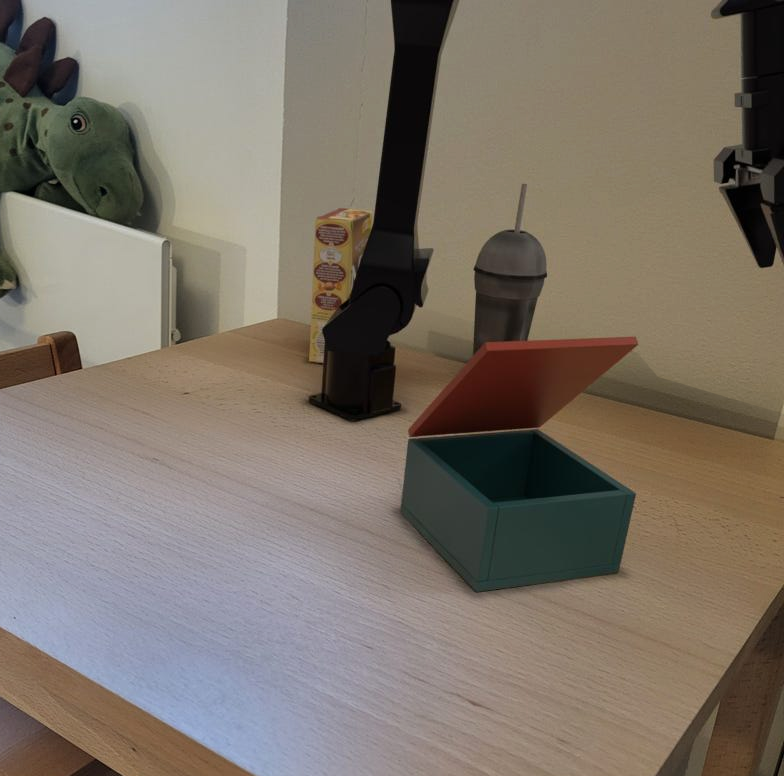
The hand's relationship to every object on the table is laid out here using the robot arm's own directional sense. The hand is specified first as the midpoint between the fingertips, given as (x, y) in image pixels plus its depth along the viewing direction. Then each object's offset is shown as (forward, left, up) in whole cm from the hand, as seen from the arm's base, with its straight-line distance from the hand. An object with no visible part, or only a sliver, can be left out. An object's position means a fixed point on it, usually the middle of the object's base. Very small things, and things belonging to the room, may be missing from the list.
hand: (782, 276), depth 75 cm
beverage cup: (-24, -4, -16) cm, 29 cm away
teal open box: (0, -32, -15) cm, 35 cm away
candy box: (-40, -12, -16) cm, 45 cm away
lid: (-2, -31, -5) cm, 32 cm away
